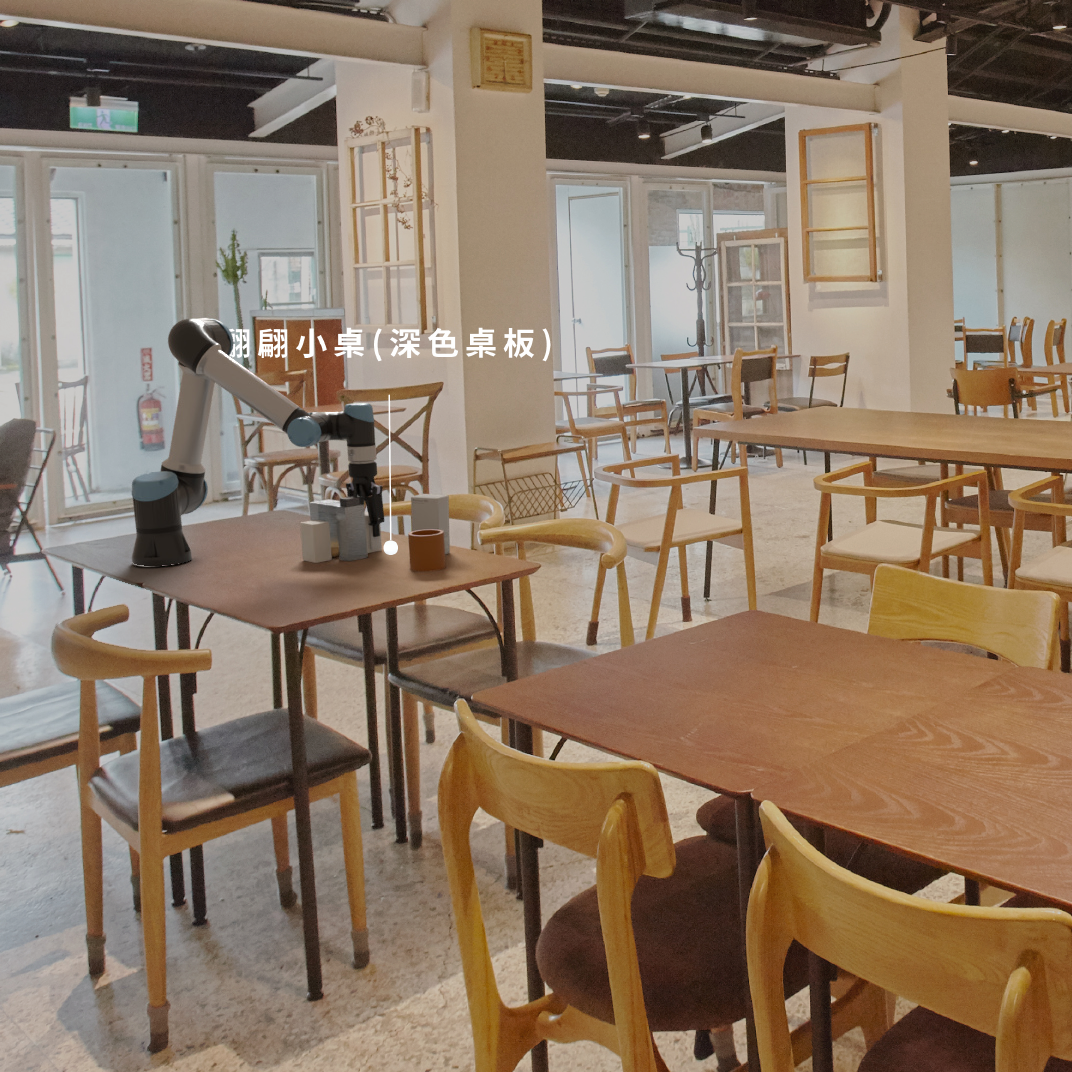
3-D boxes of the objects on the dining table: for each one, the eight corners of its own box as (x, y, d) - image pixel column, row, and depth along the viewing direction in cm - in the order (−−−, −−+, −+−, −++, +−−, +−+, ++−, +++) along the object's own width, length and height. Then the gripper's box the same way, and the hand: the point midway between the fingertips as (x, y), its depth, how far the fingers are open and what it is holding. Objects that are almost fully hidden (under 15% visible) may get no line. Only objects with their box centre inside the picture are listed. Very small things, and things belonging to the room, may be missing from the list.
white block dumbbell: (302, 560, 317) (300, 522, 315) (369, 547, 331) (366, 511, 329) (315, 563, 312) (312, 524, 311) (381, 550, 326) (379, 513, 325)
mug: (456, 562, 307) (454, 527, 305) (437, 572, 296) (436, 536, 294) (423, 560, 310) (421, 525, 308) (403, 571, 298) (402, 535, 297)
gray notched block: (313, 554, 325) (308, 494, 322) (332, 550, 329) (327, 492, 326) (348, 561, 313) (344, 500, 310) (367, 557, 317) (363, 496, 314)
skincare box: (412, 556, 317) (408, 497, 314) (423, 551, 323) (420, 493, 320) (440, 557, 313) (437, 497, 311) (452, 552, 319) (449, 493, 317)
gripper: (330, 461, 327) (336, 545, 331) (371, 465, 313) (377, 553, 317) (353, 458, 332) (359, 541, 336) (395, 462, 318) (400, 548, 322)
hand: (367, 546), depth 327 cm, fingers closed on white block dumbbell, 6 cm apart
